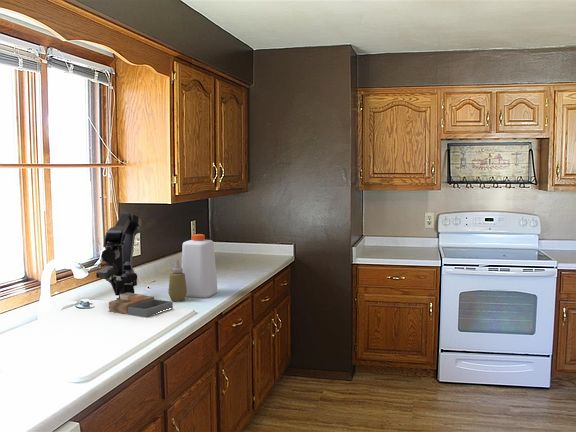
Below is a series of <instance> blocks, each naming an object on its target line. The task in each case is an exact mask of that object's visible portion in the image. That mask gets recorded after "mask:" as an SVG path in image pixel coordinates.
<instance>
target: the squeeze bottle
mask: <svg viewBox="0 0 576 432" xmlns="http://www.w3.org/2000/svg"><path fill="white" fill-rule="evenodd" d="M182 272H183V268H181V266H180V262H179V259H175V264H174V267H173V268H171V273H170V275H169V279H168V280H169V282H168V295H169V298H170V300H171V302H176V303H177V302H184V301H185V299H186V298H187V297H186V293H187V288H186V280H185V274H184V273H182Z"/></svg>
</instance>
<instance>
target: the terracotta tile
mask: <svg viewBox="0 0 576 432" xmlns="http://www.w3.org/2000/svg"><path fill="white" fill-rule="evenodd" d="M144 295H145V294H143V293H142V294H141V293H136V294H133V295H129V300H130V301H136V302H137V301H141V300H144Z"/></svg>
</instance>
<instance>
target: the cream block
mask: <svg viewBox="0 0 576 432" xmlns="http://www.w3.org/2000/svg"><path fill="white" fill-rule="evenodd" d="M133 294H137V292H136V293H135V292H134V293H129V292H127V293H123V294H120V299H123V300H129V295H133Z"/></svg>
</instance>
